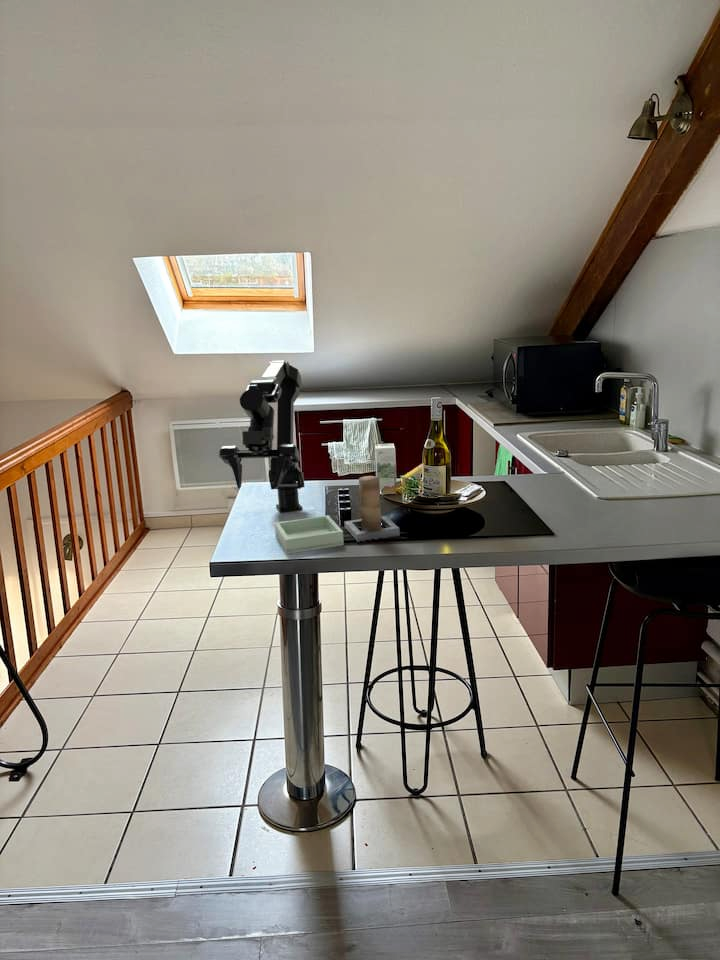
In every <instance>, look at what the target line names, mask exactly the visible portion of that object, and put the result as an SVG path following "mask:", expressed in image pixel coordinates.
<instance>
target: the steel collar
mask: <svg viewBox="0 0 720 960" xmlns="http://www.w3.org/2000/svg"><path fill="white" fill-rule="evenodd" d="M381 523H382V524H383V525H384V526H385V527H386V528H384V527H381V528H382V529H376V530H369V531H363V532H362V530H360V529H358V528H357V527H361V518H359V519H353V520H346V521H345V520H344V522H343V524H344V529H345V528H346V529H347V530H348V531H349V532H350V533H351V535H352V536H353V537H354V538H355V539H356V541H357V542H356V543H361V542H360V541H362V542H366V541H365V540H369V541H372V540H371V539H375V540H380V539H379V538H382V539H388V538H393V537H399V536H400V534H401V533H400V527H399V526H398V525H396V523H394V522H393V521H392V520H391V519H390V518H389V517H387V516H386V515H381ZM351 535H350V536H351ZM352 536H351V537H352ZM353 537H352V538H353ZM354 538H353V539H354ZM355 539H354V540H355Z"/></svg>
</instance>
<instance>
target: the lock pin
mask: <svg viewBox="0 0 720 960" xmlns="http://www.w3.org/2000/svg"><path fill="white" fill-rule="evenodd" d="M358 488H359V503H360V508H359V509H360V519H361V527H362V528H361V532H363V531H369V530H376V529H382V528H383V527H382V525H381V516H382V513H381V512H382V511H381V495H380V487H379V477H376V475H375V476H374V475H365V476H361V477H359V478H358Z"/></svg>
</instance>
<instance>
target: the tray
mask: <svg viewBox="0 0 720 960" xmlns="http://www.w3.org/2000/svg"><path fill="white" fill-rule="evenodd" d="M274 530H275V531H274V532H275V537H276V538H277V540H278V542H279V544H280V545H281V547H282V548H283V550H284V552H285V553H286V555H288V554H295V553H300V552H308V551H315V550H322V549H328V548H333V547H335V548H336V547H339V546H344V545H345V544H344V543H345V542H344V531H343V530H342V528H340V526H339V525H338V524H337V523H336V522H335V521H334V520H333V519H332V518H331V516H330V515H329V514H327V515H320V516H318V515H317V516H312V517H306V518H304V517H303V518H299V519H298V518H297V519H293V520H292V519H291V520H283V521H277V522H274Z"/></svg>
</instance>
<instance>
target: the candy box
mask: <svg viewBox="0 0 720 960" xmlns="http://www.w3.org/2000/svg"><path fill="white" fill-rule="evenodd" d="M421 474H422V463H420V464H419V465H418V466H416V467H414V468H413V469H412V470H410V471H409V472H407V473H405V474H404V475H403V476H401V494H402V493H403V488H404V482H405V479H407V478H408V477H411V476H414V477H419V478H420V477H421Z"/></svg>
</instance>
